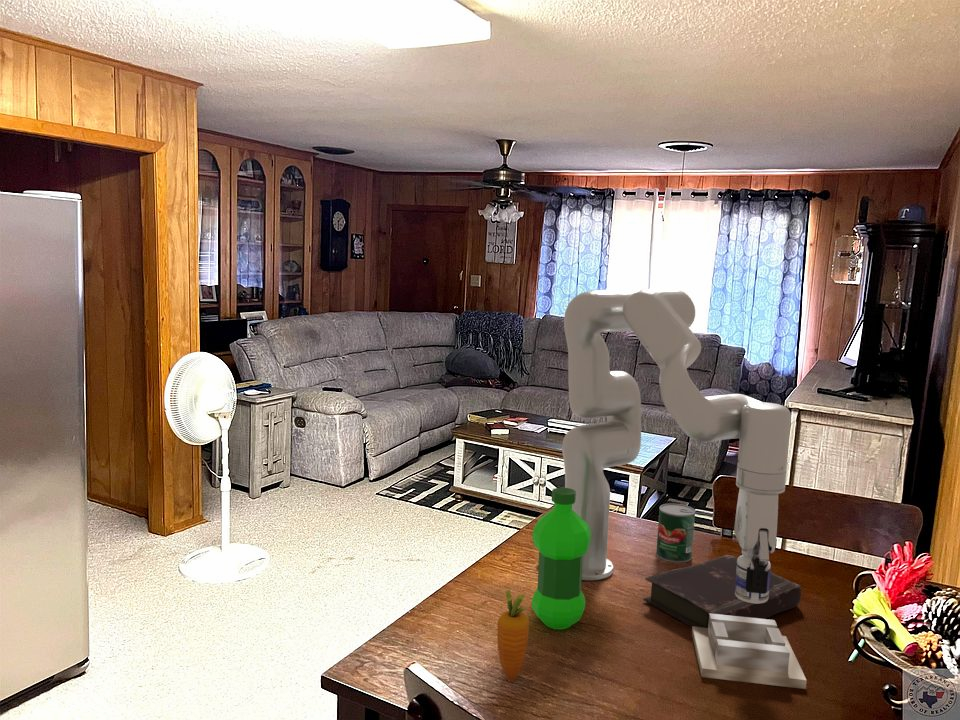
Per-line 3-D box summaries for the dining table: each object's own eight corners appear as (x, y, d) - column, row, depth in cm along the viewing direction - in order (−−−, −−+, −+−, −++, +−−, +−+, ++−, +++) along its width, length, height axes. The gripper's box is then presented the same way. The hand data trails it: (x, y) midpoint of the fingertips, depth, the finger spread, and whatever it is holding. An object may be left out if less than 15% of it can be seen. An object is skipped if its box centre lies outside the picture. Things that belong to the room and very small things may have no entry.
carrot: (493, 673, 120) (496, 585, 118) (524, 673, 121) (528, 585, 119) (497, 691, 116) (500, 599, 113) (529, 691, 116) (532, 599, 114)
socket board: (701, 676, 121) (703, 648, 121) (691, 634, 135) (693, 607, 134) (805, 689, 119) (808, 659, 118) (785, 644, 132) (787, 617, 132)
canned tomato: (656, 560, 167) (659, 513, 166) (656, 547, 175) (659, 501, 173) (692, 564, 165) (696, 516, 164) (691, 551, 173) (694, 505, 171)
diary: (801, 609, 146) (803, 585, 146) (717, 643, 132) (720, 616, 132) (722, 572, 161) (724, 550, 161) (640, 599, 147) (642, 575, 147)
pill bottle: (763, 591, 127) (767, 541, 126) (772, 605, 122) (776, 553, 121) (731, 589, 128) (735, 539, 127) (738, 603, 123) (742, 551, 122)
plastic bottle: (589, 614, 141) (596, 486, 138) (579, 641, 131) (586, 503, 128) (537, 605, 144) (543, 479, 141) (524, 631, 134) (529, 496, 131)
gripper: (728, 463, 131) (721, 561, 134) (746, 493, 115) (737, 605, 117) (773, 466, 130) (765, 565, 133) (798, 496, 113) (788, 610, 116)
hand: (752, 583), depth 125 cm, fingers closed on pill bottle, 5 cm apart
